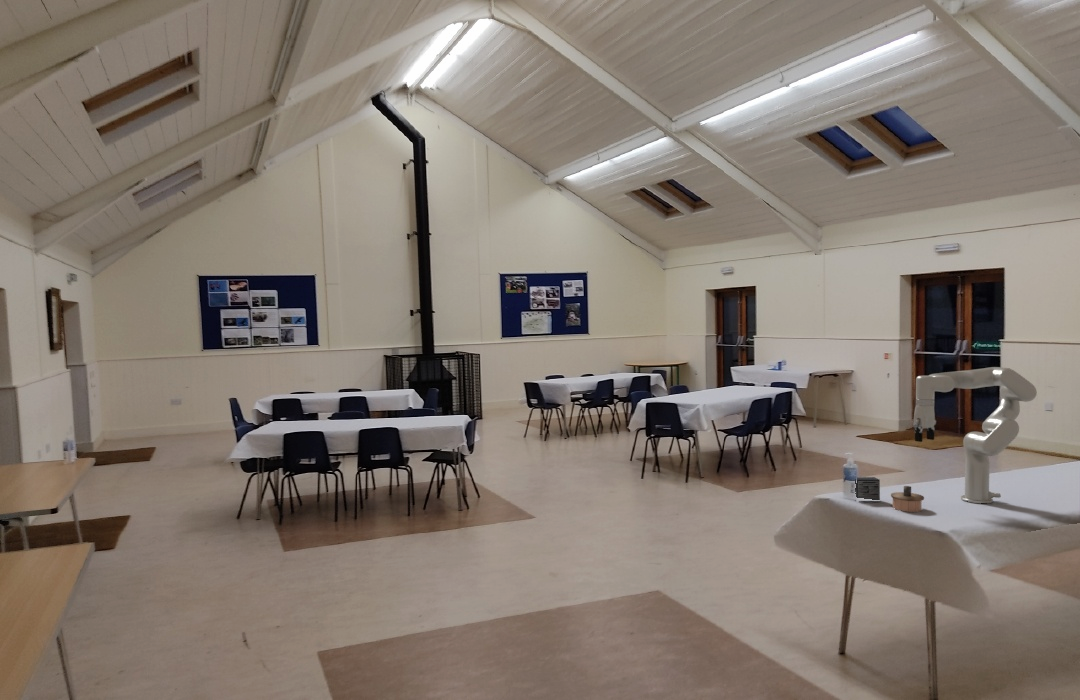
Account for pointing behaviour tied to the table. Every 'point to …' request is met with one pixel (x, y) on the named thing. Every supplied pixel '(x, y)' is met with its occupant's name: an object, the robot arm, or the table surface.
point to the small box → (867, 488)
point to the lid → (907, 495)
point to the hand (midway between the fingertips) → (924, 440)
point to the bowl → (907, 505)
